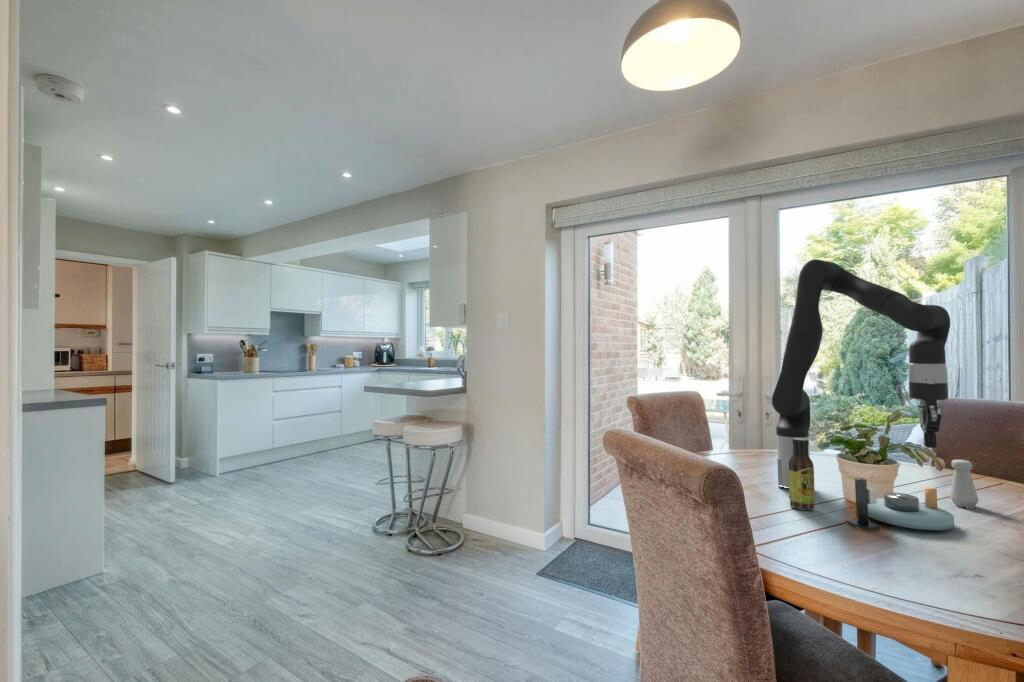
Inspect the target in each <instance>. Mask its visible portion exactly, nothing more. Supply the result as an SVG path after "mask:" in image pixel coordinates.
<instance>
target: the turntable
mask: <svg viewBox="0 0 1024 682" xmlns="http://www.w3.org/2000/svg"><path fill="white" fill-rule="evenodd" d="M923 489H924V503H922V502H919V512H901V511H896V510H892V509H889V508H887V507H885V506H884V497H883V498H880V497H879V498H878V497H877V498H876V499H877V503H876V504H868V518H869V517H870V518H872V519H874V520H877V521H878V522H879V521H880V522H882V523H885V524H889V525H893V526H897V527H903V528H908V529H914V530H915V529H916V530H922V531H944V530H945V531H946V530H951V529H953V528H954V527H955V517H954V514H952V513H951V512H949V511H947V510H945V509H943V508H940V507H939V506H938V492H937V490H938V489H937V488H935V487H930V486H924V487H923Z"/></svg>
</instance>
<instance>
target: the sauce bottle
mask: <svg viewBox="0 0 1024 682" xmlns="http://www.w3.org/2000/svg"><path fill="white" fill-rule="evenodd" d="M792 443H793V456H792V457H791V459H790V460H789V489H788V495H789V496H788V497H789V498H788V499H789V505H791V506H793V507H792V508H794V507H796V508H799V509H798V510H801V509H804V510H803V511H813V510H815V508H816V507H815V502H816V494H815V492H816V491H815V466H814V462H813V461H812V459H811V456H810V457H809V456H808V454H809V453H808V445H809V446H810V439H809V440H808V439H804V438H793V439H792ZM791 506H790V507H791ZM796 508H795V509H796ZM812 509H813V510H812Z"/></svg>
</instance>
